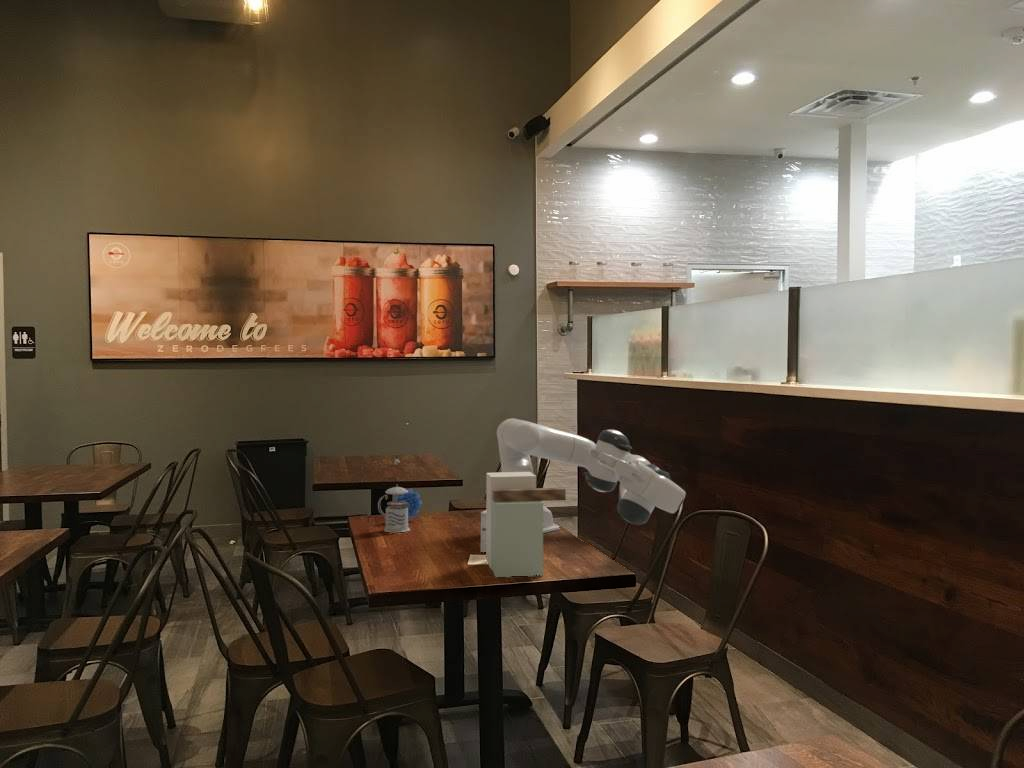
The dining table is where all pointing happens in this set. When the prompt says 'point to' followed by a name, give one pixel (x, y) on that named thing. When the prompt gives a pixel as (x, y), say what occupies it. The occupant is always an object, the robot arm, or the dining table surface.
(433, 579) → the dining table surface
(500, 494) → the walnut bar
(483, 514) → the supplement box
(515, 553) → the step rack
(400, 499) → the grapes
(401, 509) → the french press
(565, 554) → the dining table surface
